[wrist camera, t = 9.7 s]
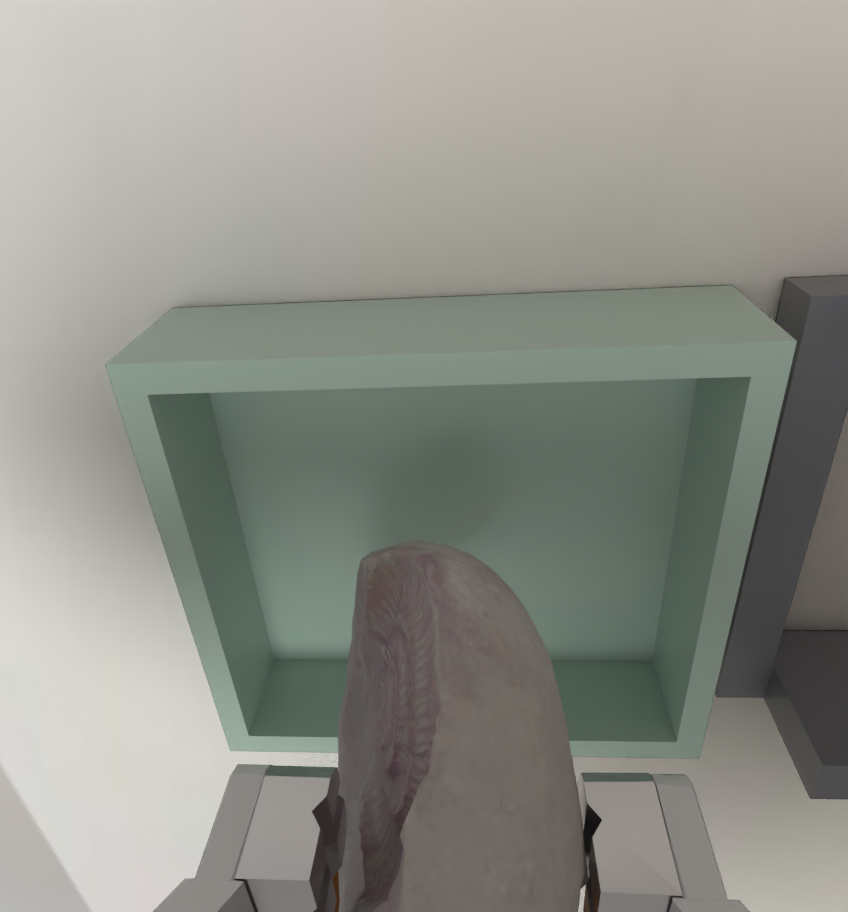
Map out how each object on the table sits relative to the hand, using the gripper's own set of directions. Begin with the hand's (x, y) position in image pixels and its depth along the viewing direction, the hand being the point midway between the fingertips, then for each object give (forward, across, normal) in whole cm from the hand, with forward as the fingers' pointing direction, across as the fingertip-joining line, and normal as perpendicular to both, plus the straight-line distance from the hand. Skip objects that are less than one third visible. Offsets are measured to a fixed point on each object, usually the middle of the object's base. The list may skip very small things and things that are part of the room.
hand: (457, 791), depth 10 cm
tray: (+8, 0, 0) cm, 8 cm away
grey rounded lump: (+6, +1, 0) cm, 6 cm away
